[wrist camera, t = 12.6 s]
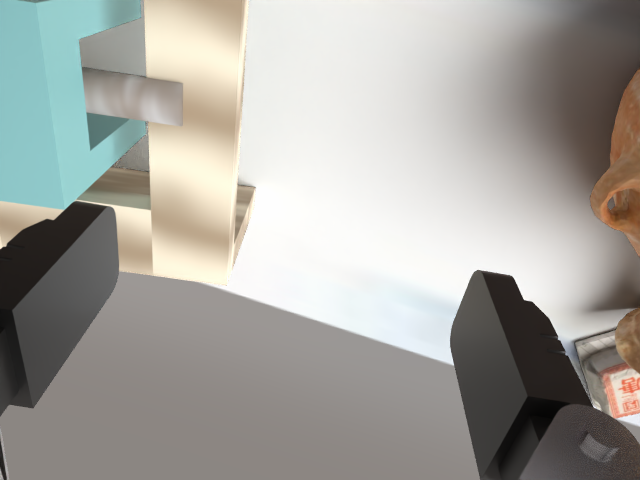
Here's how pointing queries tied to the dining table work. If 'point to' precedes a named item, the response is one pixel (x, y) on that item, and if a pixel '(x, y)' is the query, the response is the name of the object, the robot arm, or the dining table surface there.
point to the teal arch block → (55, 101)
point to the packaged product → (609, 376)
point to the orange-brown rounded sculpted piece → (624, 202)
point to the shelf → (174, 146)
